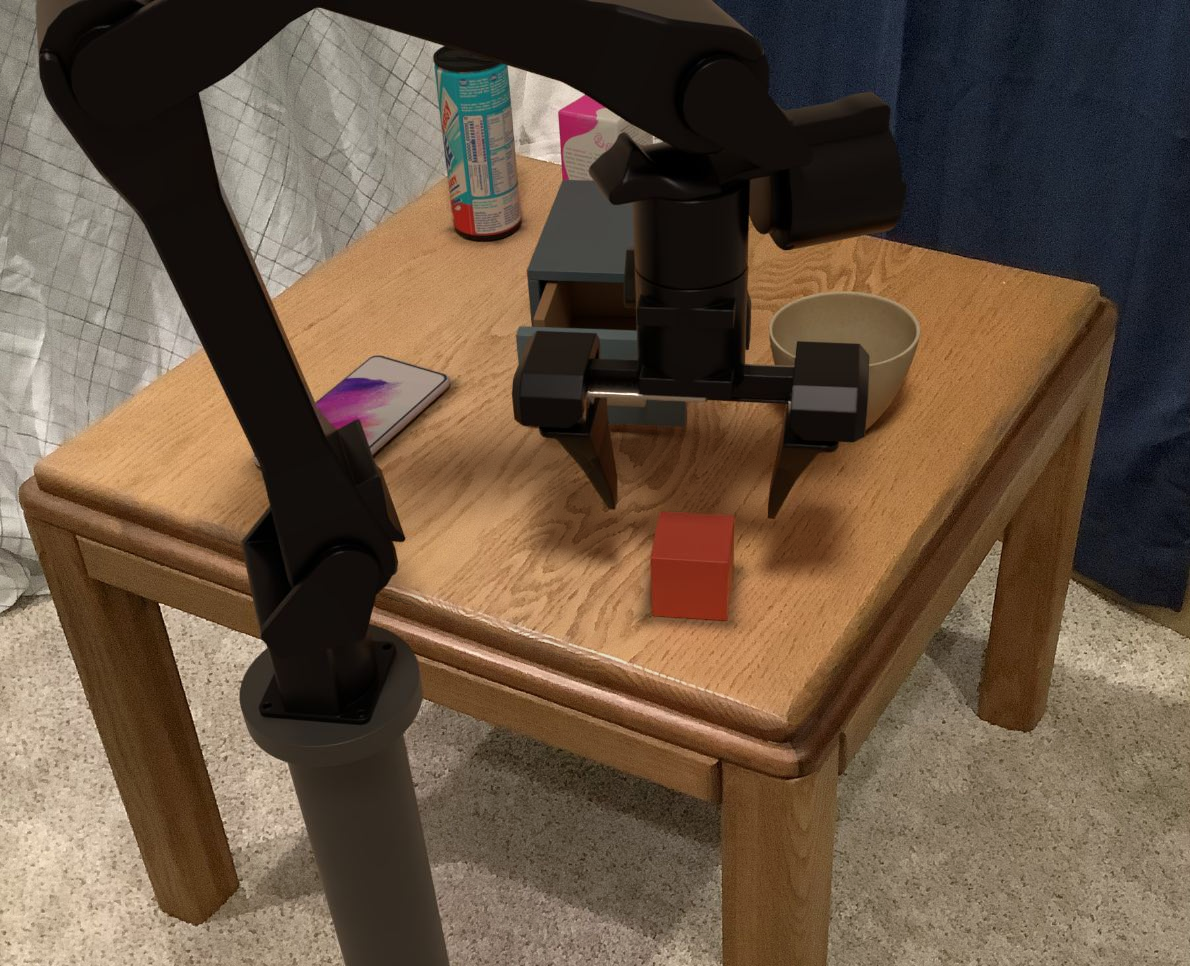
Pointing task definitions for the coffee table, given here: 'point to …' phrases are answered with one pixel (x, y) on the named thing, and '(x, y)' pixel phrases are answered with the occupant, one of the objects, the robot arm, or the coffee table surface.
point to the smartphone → (381, 397)
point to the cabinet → (581, 240)
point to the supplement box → (590, 135)
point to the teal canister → (478, 143)
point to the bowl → (852, 337)
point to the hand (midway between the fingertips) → (691, 509)
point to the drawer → (602, 341)
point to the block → (692, 565)
